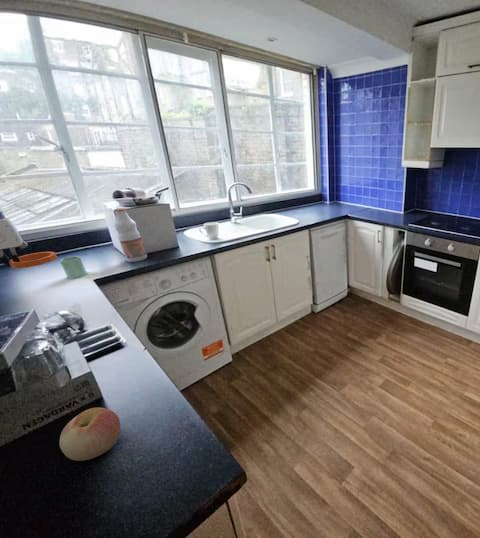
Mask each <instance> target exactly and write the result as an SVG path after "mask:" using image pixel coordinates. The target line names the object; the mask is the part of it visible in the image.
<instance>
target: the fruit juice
mask: <svg viewBox="0 0 480 538" xmlns="http://www.w3.org/2000/svg"><path fill="white" fill-rule="evenodd" d="M113 212H114V213H115V222H114V229H115V230H116V232H117V238H118V241H119V243H120V247H121V249H122V251H123V254H124V257H125V260H126V261H127V262H128V263H136V262H137V263H138V262H141V261H144V260H147V258H148V254H147V252H146V249H145V245H144V243H143V239H142V236H141V234H140V232H139V230H138V229H137V228H138V227H137V226H138V225H137V223H136V221H135V220H134V219H132V218H131V216H129V214H128V213H127V208H126V207H119V208H114V209H113Z"/></svg>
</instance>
